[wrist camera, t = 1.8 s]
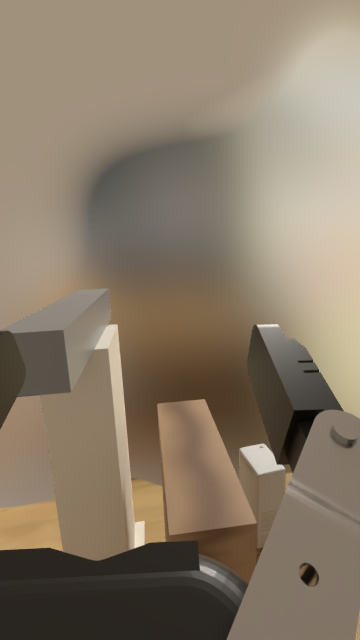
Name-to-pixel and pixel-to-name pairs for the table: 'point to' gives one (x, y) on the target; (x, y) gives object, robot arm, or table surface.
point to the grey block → (60, 340)
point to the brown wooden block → (204, 488)
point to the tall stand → (93, 458)
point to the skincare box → (261, 486)
